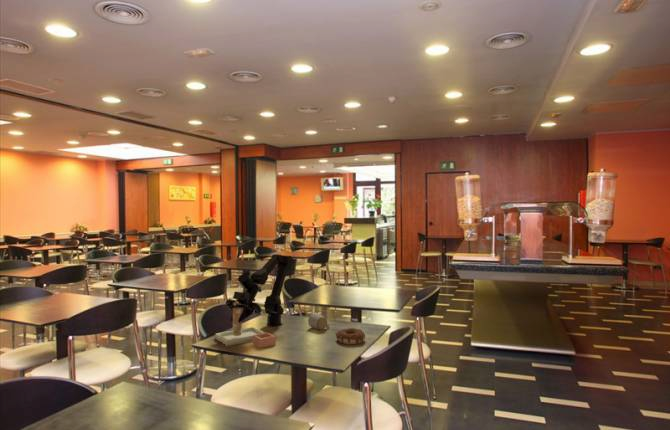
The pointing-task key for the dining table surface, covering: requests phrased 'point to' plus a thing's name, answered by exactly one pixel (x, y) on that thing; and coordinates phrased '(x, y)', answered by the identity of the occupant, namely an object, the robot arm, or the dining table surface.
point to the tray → (245, 336)
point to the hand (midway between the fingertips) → (235, 321)
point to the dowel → (236, 322)
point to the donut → (350, 336)
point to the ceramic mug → (317, 321)
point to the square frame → (264, 340)
